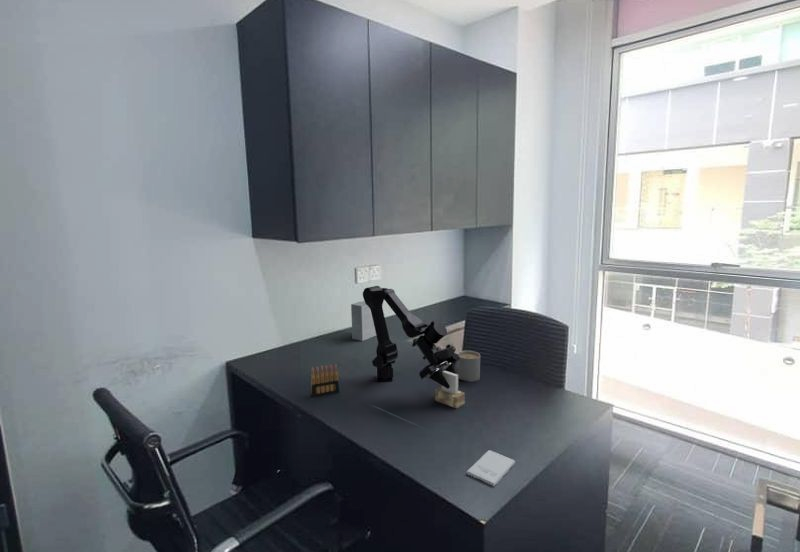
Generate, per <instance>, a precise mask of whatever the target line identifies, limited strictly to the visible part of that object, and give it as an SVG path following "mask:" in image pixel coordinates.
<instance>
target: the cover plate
mask: <svg viewBox="0 0 800 552" xmlns="http://www.w3.org/2000/svg"><path fill="white" fill-rule="evenodd" d="M442 374H443V376H444V377H445V379H446V381H447V382H448V384H449V386H450V388H449V389H447V388H445V387H444V386H442V385H441V387H442V391H445V392H448V393H451V394H454V395H457V394H458V391H459V378H458V375H457V374H454V373H451V372H448V371H443V370H442Z"/></svg>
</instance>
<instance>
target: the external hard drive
mask: <svg viewBox="0 0 800 552" xmlns="http://www.w3.org/2000/svg"><path fill="white" fill-rule="evenodd" d="M515 464H516V461H515V460H514V459H513V458H510V457H507V456H505V455H502V454H501V453H498V452H495V451H493V450H489V449H488V450H487V451H485V453H484V454H483V455H482V456H480V458H478V460H477V461H476V462H475V463H473V465H472V466H470V468H469V469H468V470H466V475H468V476H470V475H471V476H470V477H472V476H473V477H472V478H474V479H476V478H477V480H480V481H482V482H483V481H484V483H485V482H486V483H485V484H487V483H488V484H487V485H489V484H490V486H491V485H492V486H491V487H494V486H495V485H496V484H497V485H498V483H500V481H501V480H503V478H504V477H505V476H506V475H507V473H508V472H509V471H510V470H511V469H512V468H513V467H514V465H515ZM512 466H513V467H512ZM511 467H512V468H511ZM510 468H511V469H510ZM509 469H510V470H509ZM505 474H506V475H505ZM504 475H505V476H504ZM503 476H504V477H503ZM497 485H496V486H497ZM496 486H495V487H496Z"/></svg>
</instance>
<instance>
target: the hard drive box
mask: <svg viewBox="0 0 800 552" xmlns="http://www.w3.org/2000/svg"><path fill="white" fill-rule="evenodd" d="M350 307H351V309H350V311H351V336H352V340H356V341H360V342H363V341H366V340H369V339H371V338H373V337H377V335H376V331H375V327H374V322H373V318H372V313H371V309H370V308H369V307H368V306H367V305H366V303H365V301H364V300H360V301H357V302H354V303H352V304H350Z"/></svg>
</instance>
